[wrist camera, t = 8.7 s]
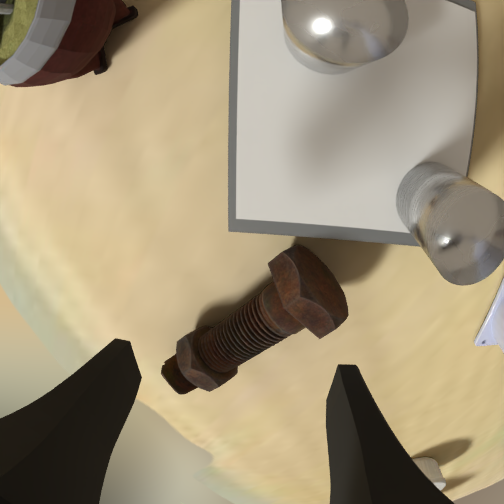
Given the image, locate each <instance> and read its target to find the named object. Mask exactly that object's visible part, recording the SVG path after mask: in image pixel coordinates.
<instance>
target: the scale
mask: <svg viewBox="0 0 504 504" xmlns="http://www.w3.org/2000/svg"><path fill="white" fill-rule="evenodd" d="M405 2H406V5H407V9H408V17H409V21H408V29H407V32H406V35H405V38H404V39H403V41H402V43H401V44H400V45H399V46H398V48H397V49H395V50H394V51H393V52H392V53H391V54H389V55H387V56H386V57H383V58H381V59H379V60H376V61H374V62H371V63H369V64H366V65H364V66H361V67H359V68H356V69H354V70H352V71H349V72H346V73H343V74H335V75H329V74H322V73H318V72H315V71H312V70H310V69H308V68H306V67H305V66H303V65H302V64H300V63H299V62H298V61H297V60H296V59H295V58H294V57H293V56H292V54H291V53H290V51H289V50H288V48H287V46H286V43H285V39H284V31H283V18H282V6H281V0H232V2H231V32H230V70H229V137H228V227H229V231H230V232H245V233H260V234H274V235H288V236H301V237H314V238H327V239H340V240H352V241H364V242H376V243H387V244H398V245H409V246H420V245H419V243H418V242H417V241H416V240H415V238H414V237H413V236H412V234H411V233H410V232H409V230H408V229H407V228H406V227H405V225H404V224H403V223H402V221H401V220H400V218H399V215H398V213H397V208H396V194H397V190H398V187H399V185H400V183H401V181H402V179H403V177H404V176H405V175H406V174H407V172H408V171H410V170H411V169H412V168H413V167H415V166H417V165H419V164H421V163H424V162H438V163H441V164H444V165H446V166H447V167H449V168H451V169H453V170H455V171H457V172H459V173H460V174H462V175H464V176H466V177H467V175H468V170H469V164H470V158H471V151H472V144H473V137H474V128H475V119H476V108H477V93H478V27H477V14H476V3H475V2H473V1H471V0H405ZM420 247H421V246H420Z"/></svg>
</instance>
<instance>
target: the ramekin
mask: <svg viewBox="0 0 504 504" xmlns="http://www.w3.org/2000/svg"><path fill="white" fill-rule="evenodd" d="M412 460H413V461H414V462H415V464H416V465H417V466H418V467H419V468H420V470H421V471H422V472H423V473H424V474H425V475H426V476H427V477H428V478H429V479H430V480H431V482H432V483H433V484H434V485H435V486H436V487H437V488H438V489H439V490H440V491H441V490H442V489H443V488H444V487H445V486H446V480H445V478H443V475H442V473H441V471H440V468H439V466H438V463H437V462H436V461H435V460H434V459H432V458H429V457H420V458H414V459H412Z"/></svg>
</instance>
